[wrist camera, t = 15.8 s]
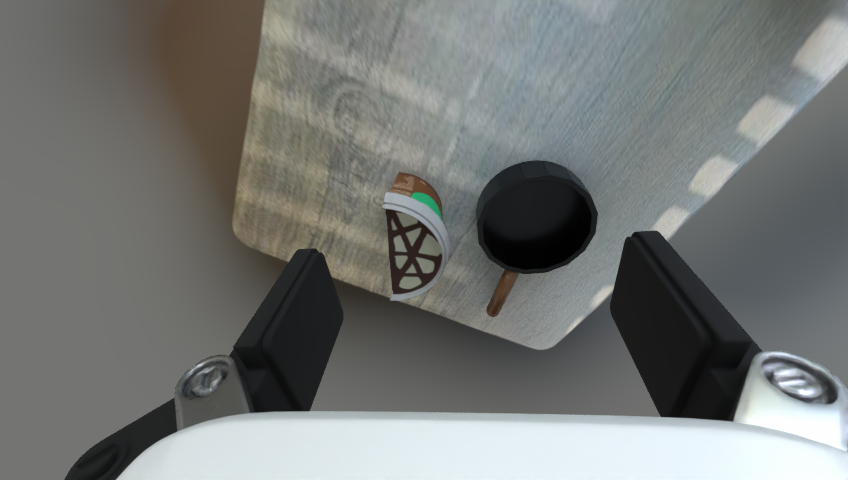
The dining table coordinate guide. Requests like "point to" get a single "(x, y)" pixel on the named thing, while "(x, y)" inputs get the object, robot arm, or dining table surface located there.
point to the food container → (415, 236)
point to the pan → (533, 222)
